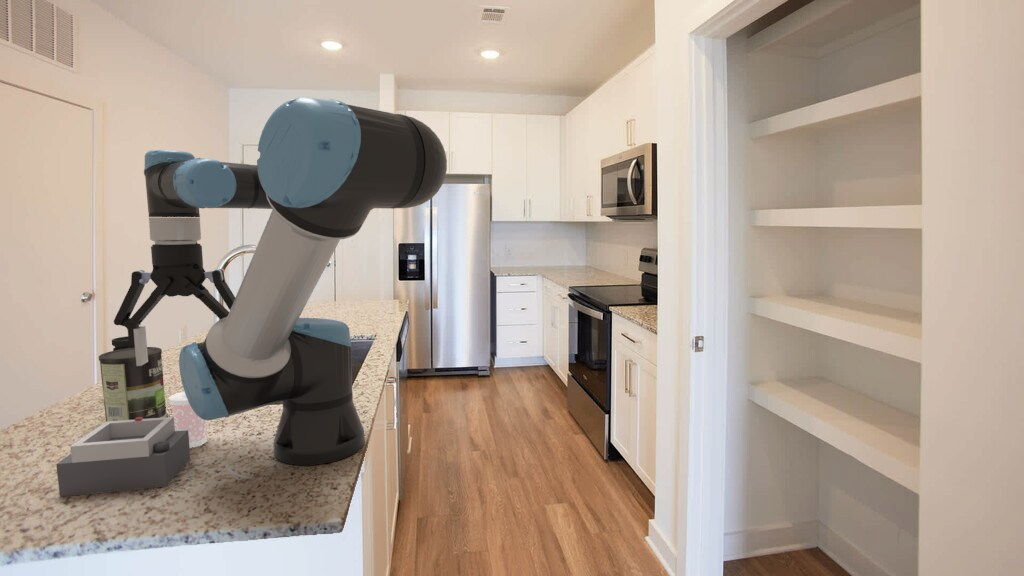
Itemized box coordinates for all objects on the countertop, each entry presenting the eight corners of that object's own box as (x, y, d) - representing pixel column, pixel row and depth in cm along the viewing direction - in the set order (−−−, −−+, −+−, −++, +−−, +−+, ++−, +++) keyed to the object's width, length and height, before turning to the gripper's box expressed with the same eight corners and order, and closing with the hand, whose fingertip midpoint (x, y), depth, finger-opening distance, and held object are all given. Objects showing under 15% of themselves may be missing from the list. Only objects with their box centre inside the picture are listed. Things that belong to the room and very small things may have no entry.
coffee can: (173, 409, 115) (168, 344, 114) (158, 426, 106) (152, 356, 104) (117, 414, 112) (110, 348, 111) (95, 432, 103) (88, 360, 101)
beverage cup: (168, 443, 98) (161, 368, 96) (205, 433, 102) (200, 361, 100) (177, 453, 93) (171, 374, 92) (216, 442, 98) (210, 367, 96)
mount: (190, 458, 91) (186, 413, 90) (166, 486, 82) (162, 436, 81) (96, 466, 88) (91, 420, 87) (59, 496, 79) (54, 445, 78)
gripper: (259, 241, 100) (265, 353, 102) (105, 241, 94) (116, 360, 97) (248, 243, 92) (255, 363, 95) (81, 243, 87) (94, 371, 90)
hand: (185, 362), depth 96 cm, fingers open, 13 cm apart
